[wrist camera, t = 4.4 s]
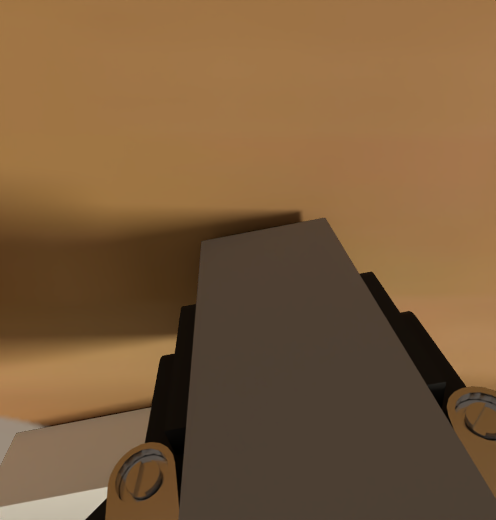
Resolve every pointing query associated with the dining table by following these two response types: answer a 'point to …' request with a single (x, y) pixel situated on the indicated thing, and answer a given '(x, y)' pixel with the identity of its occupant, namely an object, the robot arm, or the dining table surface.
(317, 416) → the plug
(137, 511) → the robot arm
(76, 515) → the socket plate
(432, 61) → the dining table surface
